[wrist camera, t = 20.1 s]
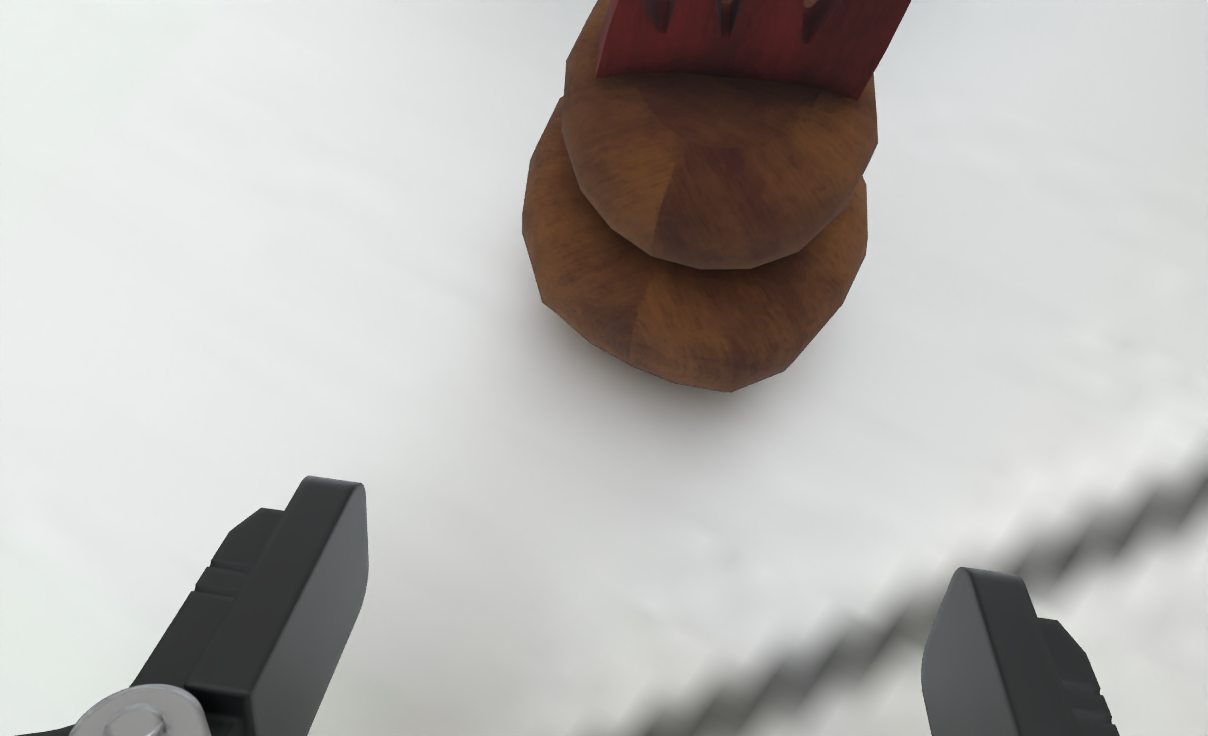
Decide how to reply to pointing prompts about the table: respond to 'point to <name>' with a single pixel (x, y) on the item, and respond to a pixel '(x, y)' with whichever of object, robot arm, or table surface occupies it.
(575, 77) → the wooden figurine
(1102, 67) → the table surface
